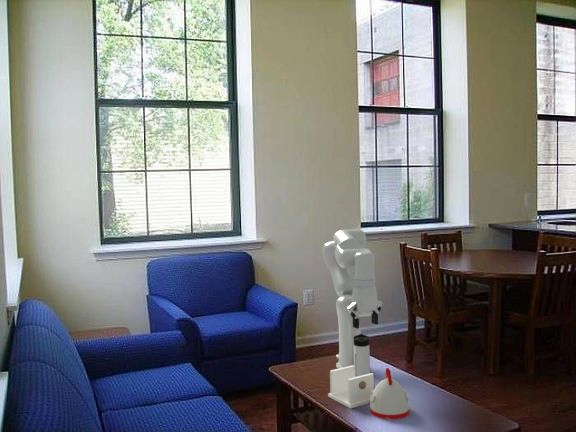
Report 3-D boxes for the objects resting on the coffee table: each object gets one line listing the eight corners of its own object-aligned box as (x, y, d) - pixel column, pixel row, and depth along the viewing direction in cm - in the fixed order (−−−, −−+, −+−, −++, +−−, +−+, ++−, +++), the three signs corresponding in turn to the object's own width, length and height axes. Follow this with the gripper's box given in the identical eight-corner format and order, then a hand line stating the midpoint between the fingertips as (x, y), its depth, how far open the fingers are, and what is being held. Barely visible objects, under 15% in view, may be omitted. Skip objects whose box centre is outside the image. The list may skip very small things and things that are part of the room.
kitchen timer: (405, 403, 209) (404, 363, 208) (413, 418, 195) (412, 376, 194) (367, 404, 209) (366, 364, 208) (372, 420, 195) (371, 377, 194)
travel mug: (369, 382, 231) (368, 333, 230) (370, 388, 225) (369, 338, 223) (354, 382, 232) (353, 333, 231) (354, 388, 225) (353, 338, 224)
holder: (328, 396, 217) (327, 370, 217) (353, 389, 223) (352, 364, 223) (350, 408, 205) (350, 380, 205) (376, 401, 211) (376, 374, 211)
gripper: (375, 278, 232) (375, 320, 234) (341, 284, 223) (342, 327, 224) (387, 281, 226) (388, 324, 227) (353, 287, 217) (354, 331, 218)
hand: (365, 325), depth 226 cm, fingers open, 9 cm apart
